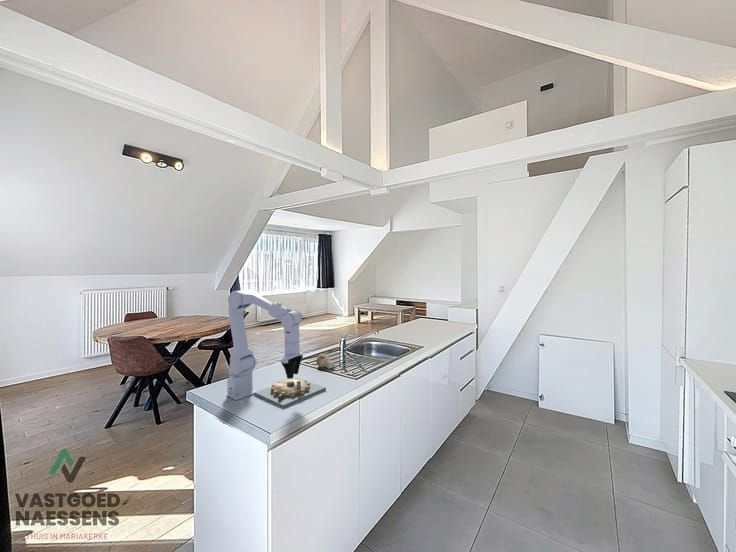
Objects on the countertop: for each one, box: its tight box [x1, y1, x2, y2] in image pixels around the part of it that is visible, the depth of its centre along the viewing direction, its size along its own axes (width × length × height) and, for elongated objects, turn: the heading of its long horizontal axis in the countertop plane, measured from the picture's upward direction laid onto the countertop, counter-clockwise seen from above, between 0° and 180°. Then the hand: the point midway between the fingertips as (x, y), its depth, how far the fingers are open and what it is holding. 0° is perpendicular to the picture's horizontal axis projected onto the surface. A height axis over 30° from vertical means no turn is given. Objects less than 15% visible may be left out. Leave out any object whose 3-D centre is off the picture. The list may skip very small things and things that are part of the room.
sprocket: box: [271, 378, 311, 397], centre depth 131 cm, size 16×16×5 cm
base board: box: [253, 377, 327, 409], centre depth 131 cm, size 22×20×3 cm
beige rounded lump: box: [315, 353, 337, 370], centre depth 165 cm, size 8×10×10 cm
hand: (292, 376), depth 122 cm, fingers open, 4 cm apart
